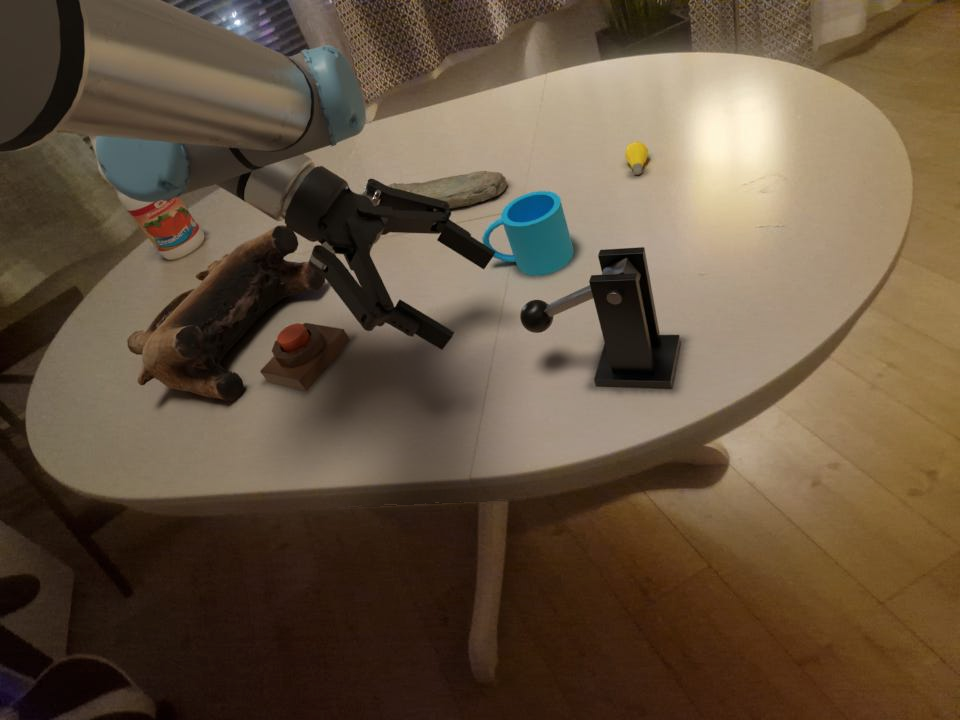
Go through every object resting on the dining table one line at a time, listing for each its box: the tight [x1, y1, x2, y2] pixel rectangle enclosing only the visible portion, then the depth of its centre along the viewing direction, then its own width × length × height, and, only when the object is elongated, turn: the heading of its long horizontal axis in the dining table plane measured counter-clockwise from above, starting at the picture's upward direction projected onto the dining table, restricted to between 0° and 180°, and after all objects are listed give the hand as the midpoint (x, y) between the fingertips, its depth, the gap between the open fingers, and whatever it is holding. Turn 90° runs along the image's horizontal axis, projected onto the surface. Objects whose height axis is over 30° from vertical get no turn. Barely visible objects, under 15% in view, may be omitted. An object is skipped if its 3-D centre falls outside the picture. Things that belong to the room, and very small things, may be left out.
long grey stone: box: [359, 170, 508, 219], centre depth 113 cm, size 35×5×10 cm
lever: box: [519, 258, 641, 334], centre depth 67 cm, size 14×4×4 cm, turn 70°
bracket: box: [588, 246, 681, 390], centre depth 66 cm, size 8×7×14 cm
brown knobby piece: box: [126, 224, 326, 402], centre depth 99 cm, size 13×31×25 cm
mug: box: [481, 190, 575, 277], centre depth 89 cm, size 12×8×8 cm
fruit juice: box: [87, 135, 206, 261], centre depth 125 cm, size 9×9×28 cm
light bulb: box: [624, 141, 649, 176], centre depth 99 cm, size 3×6×4 cm, turn 170°
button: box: [276, 322, 310, 353], centre depth 88 cm, size 4×4×2 cm
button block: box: [260, 322, 351, 392], centre depth 89 cm, size 10×8×4 cm
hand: (470, 298), depth 72 cm, fingers open, 13 cm apart
